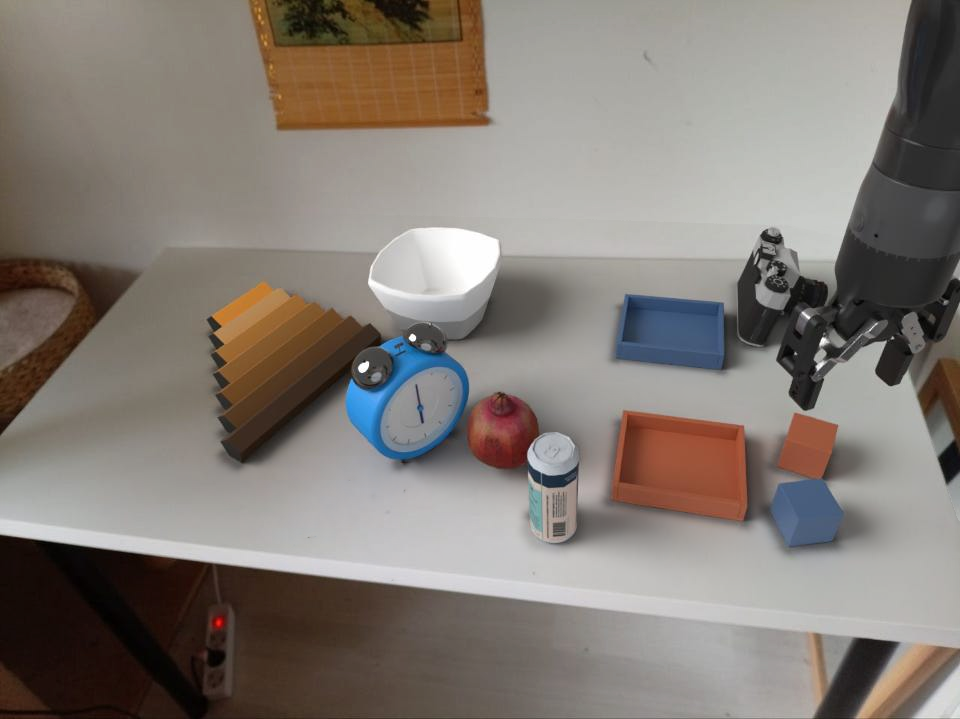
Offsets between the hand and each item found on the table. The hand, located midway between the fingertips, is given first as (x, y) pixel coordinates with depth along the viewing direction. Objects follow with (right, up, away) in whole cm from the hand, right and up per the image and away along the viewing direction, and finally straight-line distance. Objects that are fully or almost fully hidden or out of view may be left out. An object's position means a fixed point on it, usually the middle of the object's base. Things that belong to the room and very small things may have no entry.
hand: (844, 391), depth 59 cm
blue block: (0, -14, +9) cm, 17 cm away
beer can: (-24, -14, +11) cm, 30 cm away
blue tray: (-6, +6, +33) cm, 34 cm away
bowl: (-37, +9, +40) cm, 55 cm away
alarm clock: (-39, -7, +22) cm, 45 cm away
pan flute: (-62, +1, +34) cm, 71 cm away
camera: (+9, +9, +34) cm, 37 cm away
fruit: (-29, -9, +19) cm, 35 cm away
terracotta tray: (-10, -9, +16) cm, 21 cm away
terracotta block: (+4, -8, +15) cm, 18 cm away
